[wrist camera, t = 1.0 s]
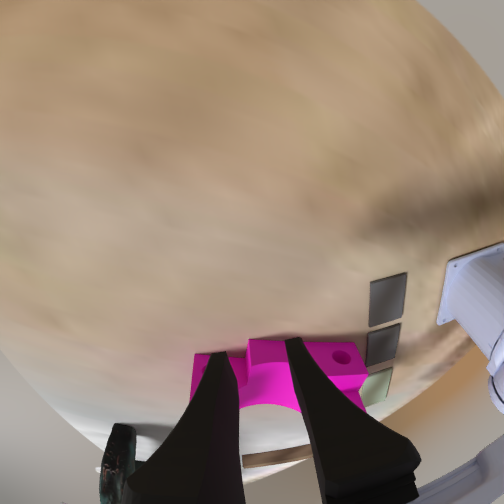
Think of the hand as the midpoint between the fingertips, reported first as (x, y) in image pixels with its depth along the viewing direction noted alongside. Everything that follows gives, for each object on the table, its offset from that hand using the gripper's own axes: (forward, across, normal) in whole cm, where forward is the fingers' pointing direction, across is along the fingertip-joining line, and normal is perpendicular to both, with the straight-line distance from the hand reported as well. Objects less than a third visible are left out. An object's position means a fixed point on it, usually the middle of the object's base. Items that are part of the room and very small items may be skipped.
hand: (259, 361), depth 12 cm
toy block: (+11, 0, +12) cm, 16 cm away
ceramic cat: (+11, +25, +30) cm, 40 cm away
